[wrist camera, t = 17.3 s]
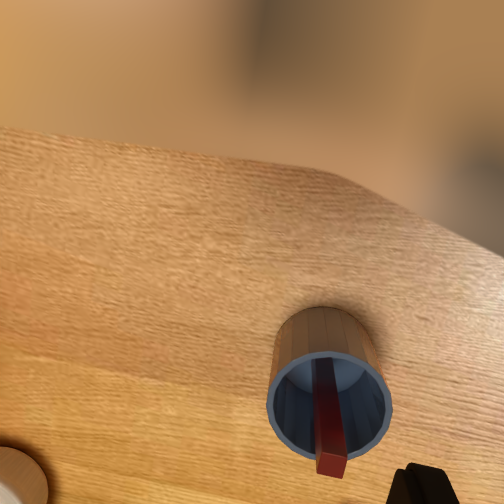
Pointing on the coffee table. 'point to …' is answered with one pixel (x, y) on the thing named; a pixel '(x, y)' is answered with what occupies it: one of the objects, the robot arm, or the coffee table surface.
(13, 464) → the ramekin
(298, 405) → the cup
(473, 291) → the coffee table surface
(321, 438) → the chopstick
